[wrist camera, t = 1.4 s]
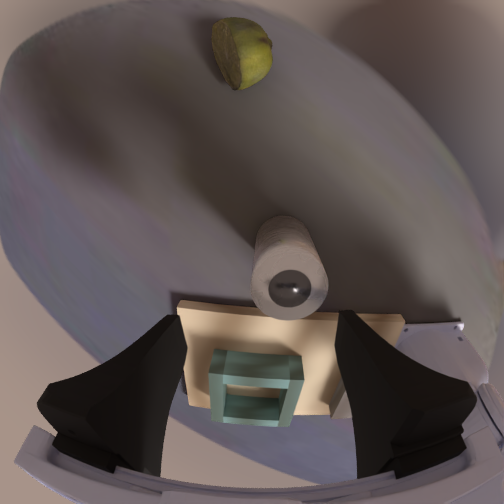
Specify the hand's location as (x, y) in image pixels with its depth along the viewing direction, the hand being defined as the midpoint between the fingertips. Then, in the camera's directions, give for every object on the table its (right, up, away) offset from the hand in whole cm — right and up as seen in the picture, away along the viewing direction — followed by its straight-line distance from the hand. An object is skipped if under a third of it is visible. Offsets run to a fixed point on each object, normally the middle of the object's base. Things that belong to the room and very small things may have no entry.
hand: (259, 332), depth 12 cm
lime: (-1, +17, +4) cm, 17 cm away
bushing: (+2, +4, +8) cm, 10 cm away
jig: (+3, -8, +13) cm, 16 cm away
